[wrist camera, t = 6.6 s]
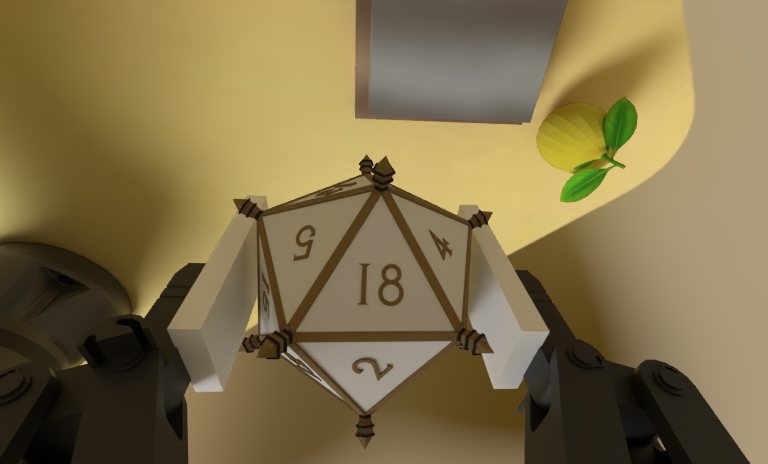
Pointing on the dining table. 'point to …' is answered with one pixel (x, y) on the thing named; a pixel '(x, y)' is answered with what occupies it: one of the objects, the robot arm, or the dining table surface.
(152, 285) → the dining table surface
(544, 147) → the lemon
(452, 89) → the tower base
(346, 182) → the game die
